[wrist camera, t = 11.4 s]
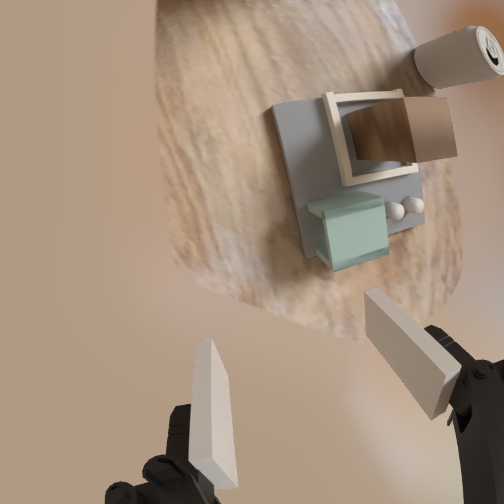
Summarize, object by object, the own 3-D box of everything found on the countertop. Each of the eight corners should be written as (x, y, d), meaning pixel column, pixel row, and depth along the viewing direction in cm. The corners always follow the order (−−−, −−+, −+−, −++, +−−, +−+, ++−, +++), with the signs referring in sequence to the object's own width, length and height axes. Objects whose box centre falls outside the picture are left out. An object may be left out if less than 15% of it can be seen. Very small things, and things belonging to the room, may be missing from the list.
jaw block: (346, 113, 25) (402, 96, 15) (384, 109, 25) (446, 97, 16) (357, 159, 27) (416, 163, 17) (394, 153, 27) (457, 156, 17)
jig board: (269, 104, 25) (275, 97, 22) (398, 92, 26) (413, 87, 23) (304, 255, 30) (313, 265, 27) (418, 221, 31) (434, 227, 28)
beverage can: (410, 77, 25) (478, 58, 14) (410, 38, 23) (471, 12, 12) (444, 96, 26) (511, 89, 15) (444, 59, 24) (504, 44, 13)
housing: (306, 203, 27) (324, 211, 23) (359, 190, 27) (383, 196, 23) (316, 255, 29) (333, 272, 24) (366, 240, 29) (388, 254, 25)
